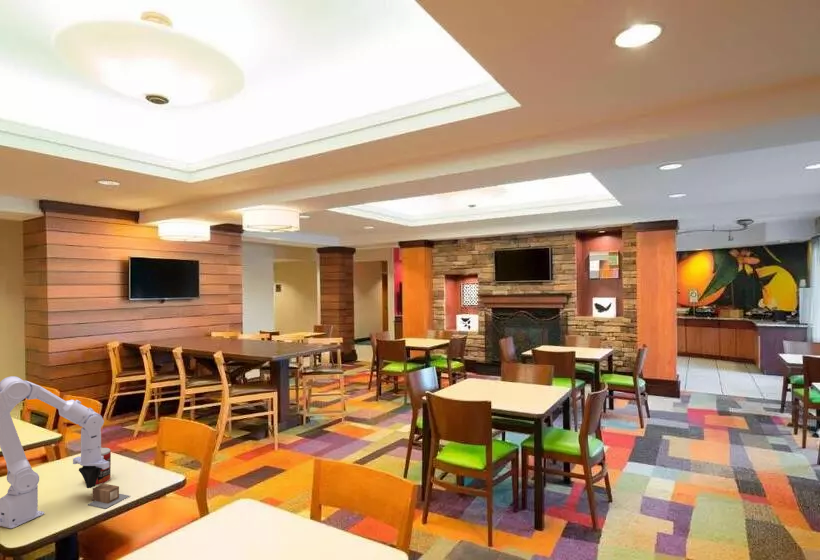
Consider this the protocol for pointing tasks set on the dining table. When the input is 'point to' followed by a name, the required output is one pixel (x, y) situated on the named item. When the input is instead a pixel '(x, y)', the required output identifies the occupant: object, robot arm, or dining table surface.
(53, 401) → the robot arm
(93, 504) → the felt mat
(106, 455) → the canned food
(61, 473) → the dining table surface
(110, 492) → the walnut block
